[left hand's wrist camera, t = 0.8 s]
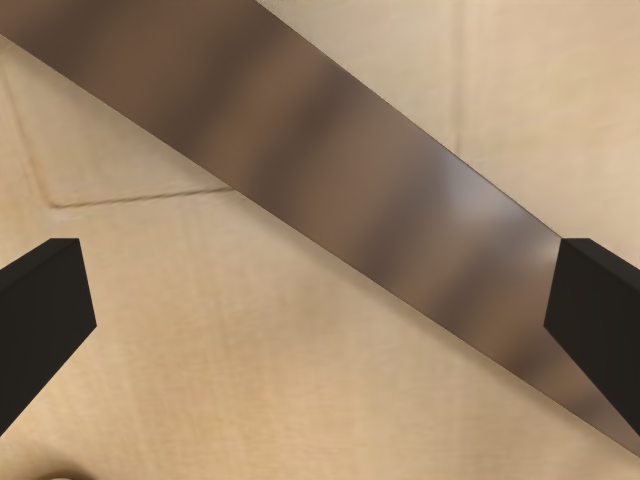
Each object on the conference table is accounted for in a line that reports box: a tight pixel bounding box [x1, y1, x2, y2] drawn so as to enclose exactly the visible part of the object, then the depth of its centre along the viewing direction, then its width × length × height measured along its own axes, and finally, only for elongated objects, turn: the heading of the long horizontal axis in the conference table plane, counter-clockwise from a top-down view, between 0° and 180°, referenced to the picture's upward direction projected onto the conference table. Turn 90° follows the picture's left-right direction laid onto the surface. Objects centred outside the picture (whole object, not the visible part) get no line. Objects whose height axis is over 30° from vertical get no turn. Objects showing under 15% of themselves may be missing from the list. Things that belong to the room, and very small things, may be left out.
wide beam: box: [0, 0, 640, 457], centre depth 32 cm, size 76×10×7 cm, turn 54°
